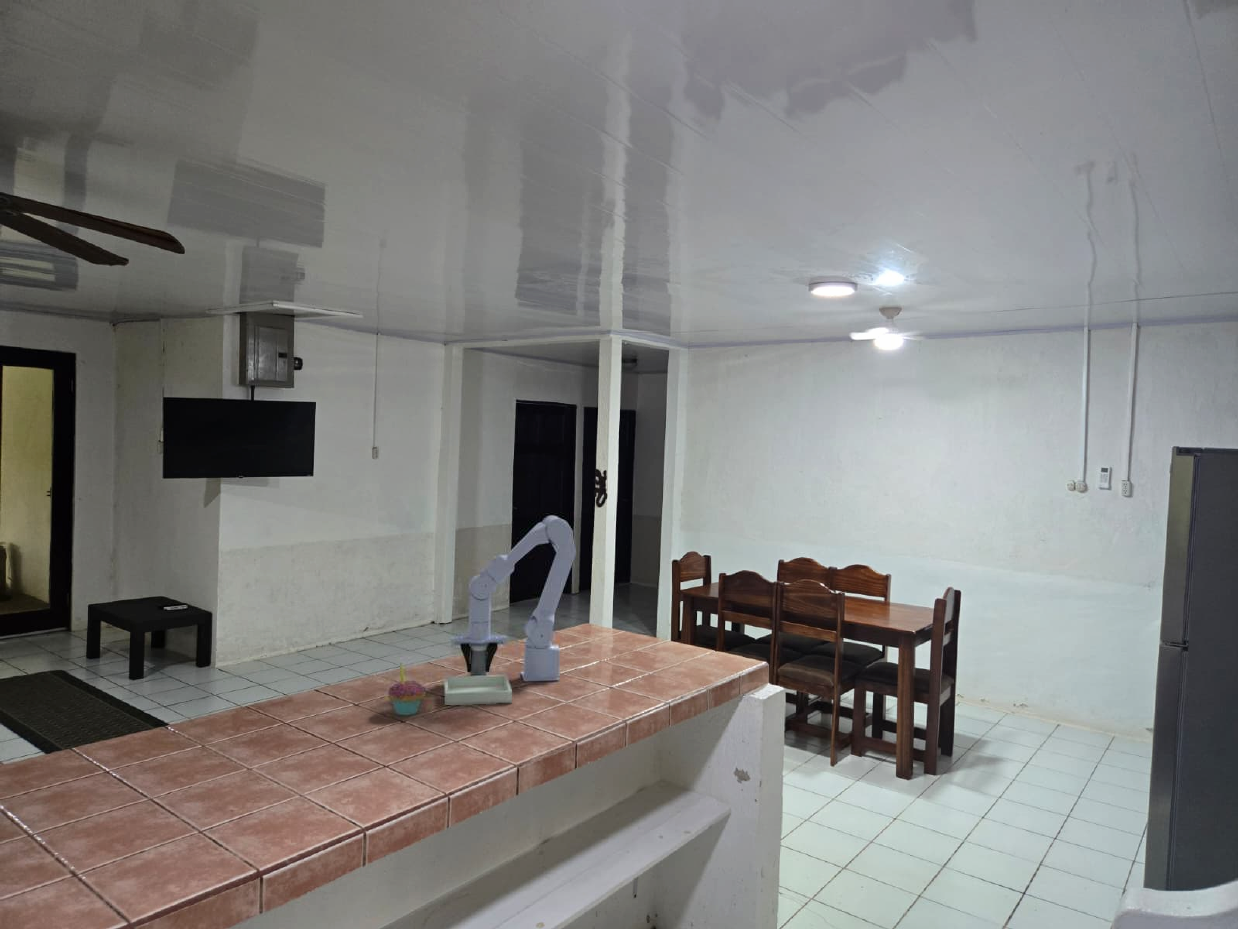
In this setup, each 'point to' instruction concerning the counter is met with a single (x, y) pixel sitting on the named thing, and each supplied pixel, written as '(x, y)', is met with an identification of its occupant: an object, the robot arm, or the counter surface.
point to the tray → (477, 690)
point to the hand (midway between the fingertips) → (478, 671)
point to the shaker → (478, 660)
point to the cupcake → (406, 695)
